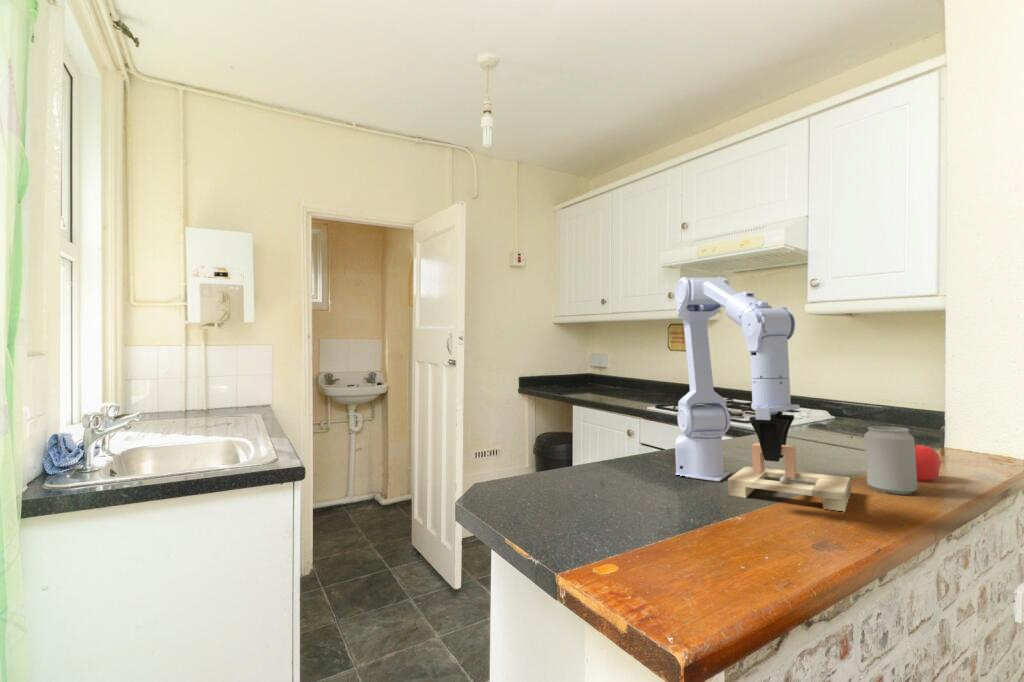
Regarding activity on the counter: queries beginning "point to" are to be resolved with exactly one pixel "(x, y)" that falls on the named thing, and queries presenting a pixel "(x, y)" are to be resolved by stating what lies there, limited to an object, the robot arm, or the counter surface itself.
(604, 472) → the counter surface
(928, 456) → the apple
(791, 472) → the pink arch
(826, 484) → the wooden slotted stand
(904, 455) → the can
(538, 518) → the counter surface
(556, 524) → the counter surface
